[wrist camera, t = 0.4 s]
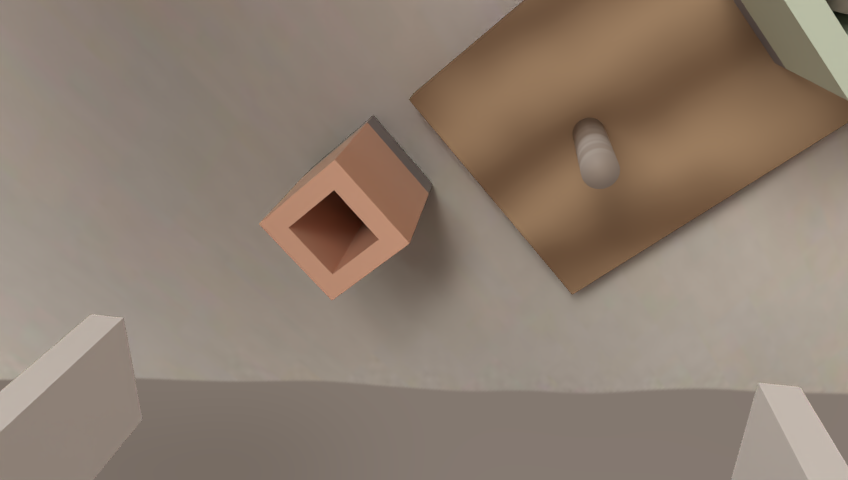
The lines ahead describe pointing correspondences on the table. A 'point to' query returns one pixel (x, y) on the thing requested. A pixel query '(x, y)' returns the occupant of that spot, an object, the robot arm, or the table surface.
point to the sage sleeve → (803, 39)
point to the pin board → (620, 120)
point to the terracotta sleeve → (351, 209)
